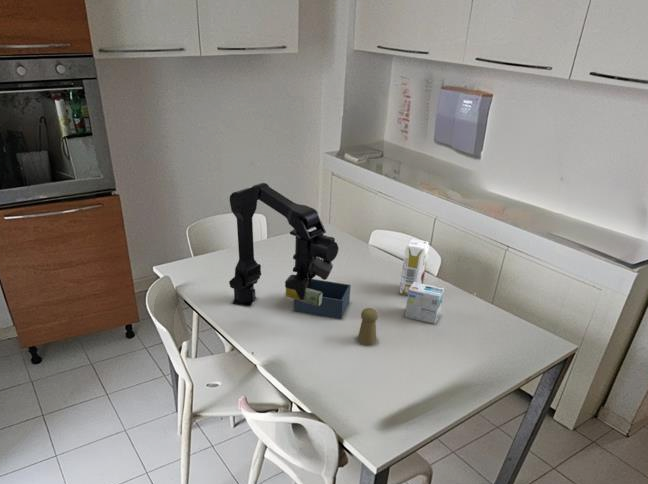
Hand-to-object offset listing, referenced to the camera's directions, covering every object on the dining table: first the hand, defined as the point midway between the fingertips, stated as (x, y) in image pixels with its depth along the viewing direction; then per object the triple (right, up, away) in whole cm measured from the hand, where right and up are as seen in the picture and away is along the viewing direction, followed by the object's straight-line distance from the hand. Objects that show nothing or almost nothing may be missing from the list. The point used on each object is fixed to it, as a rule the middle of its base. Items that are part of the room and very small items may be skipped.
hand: (303, 297), depth 165 cm
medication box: (0, -1, +1) cm, 1 cm away
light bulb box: (+40, -6, +14) cm, 43 cm away
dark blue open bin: (+6, -2, +18) cm, 19 cm away
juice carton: (+40, +4, +29) cm, 49 cm away
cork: (+20, -14, +1) cm, 24 cm away
